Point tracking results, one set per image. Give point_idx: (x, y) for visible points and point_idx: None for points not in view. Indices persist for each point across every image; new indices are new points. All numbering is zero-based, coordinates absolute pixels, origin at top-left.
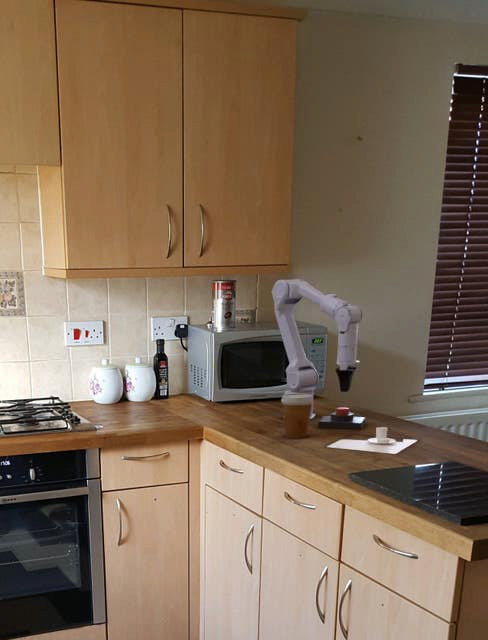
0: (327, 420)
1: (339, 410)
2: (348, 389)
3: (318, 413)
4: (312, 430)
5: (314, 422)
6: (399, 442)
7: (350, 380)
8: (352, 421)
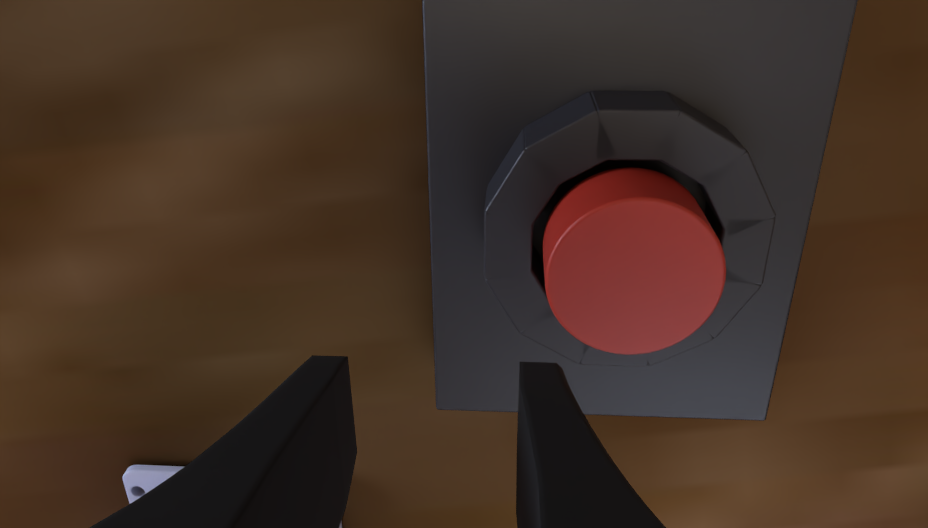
0: (700, 352)
1: (713, 300)
2: (346, 372)
3: (8, 449)
4: (835, 412)
5: (442, 435)
6: None
7: (279, 470)
8: (749, 85)
